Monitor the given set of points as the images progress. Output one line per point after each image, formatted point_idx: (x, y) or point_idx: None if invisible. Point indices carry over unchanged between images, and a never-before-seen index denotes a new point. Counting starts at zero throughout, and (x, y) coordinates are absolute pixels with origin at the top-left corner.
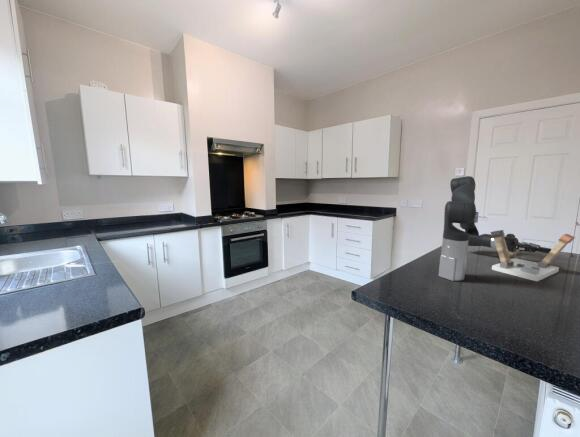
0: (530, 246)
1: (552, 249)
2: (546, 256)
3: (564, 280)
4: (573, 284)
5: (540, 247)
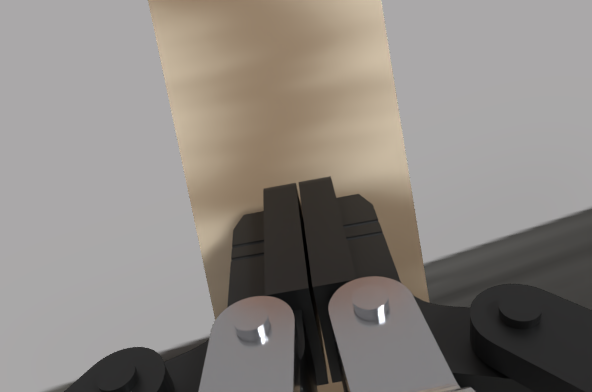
0: (589, 388)
1: (396, 121)
2: (423, 289)
3: (515, 278)
4: (541, 228)
5: (355, 266)
